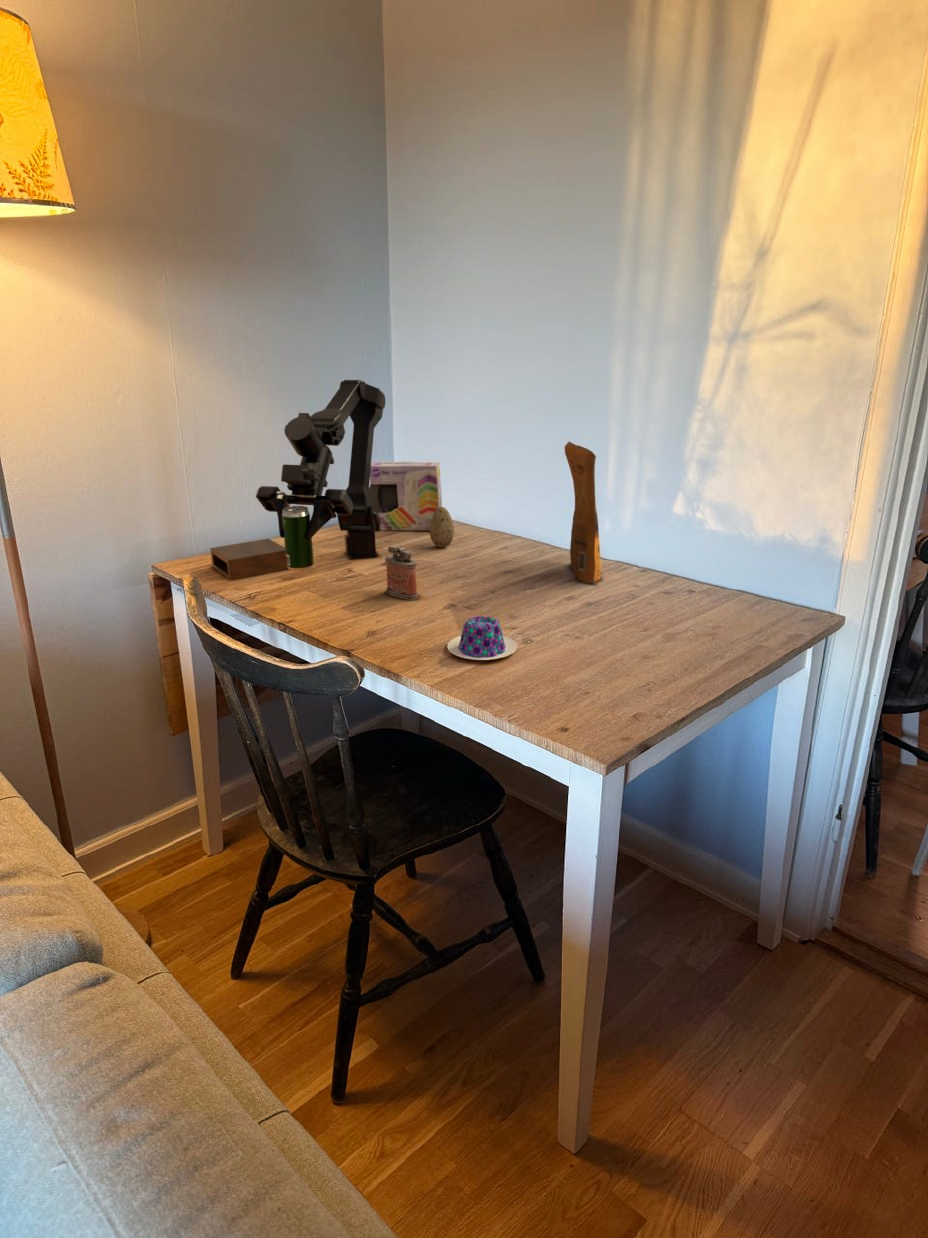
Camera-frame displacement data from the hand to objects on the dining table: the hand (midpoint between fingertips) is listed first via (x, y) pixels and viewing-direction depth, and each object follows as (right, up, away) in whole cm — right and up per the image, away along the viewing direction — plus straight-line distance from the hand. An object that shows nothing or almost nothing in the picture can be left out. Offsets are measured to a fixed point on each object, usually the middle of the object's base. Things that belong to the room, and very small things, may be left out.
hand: (294, 537), depth 161 cm
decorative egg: (+28, +2, +42) cm, 50 cm away
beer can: (0, -6, +4) cm, 7 cm away
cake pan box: (+18, +8, +58) cm, 62 cm away
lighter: (+20, -11, +8) cm, 25 cm away
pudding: (+36, -21, -20) cm, 46 cm away
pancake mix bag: (+59, -6, +21) cm, 63 cm away
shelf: (-15, -4, +27) cm, 31 cm away
